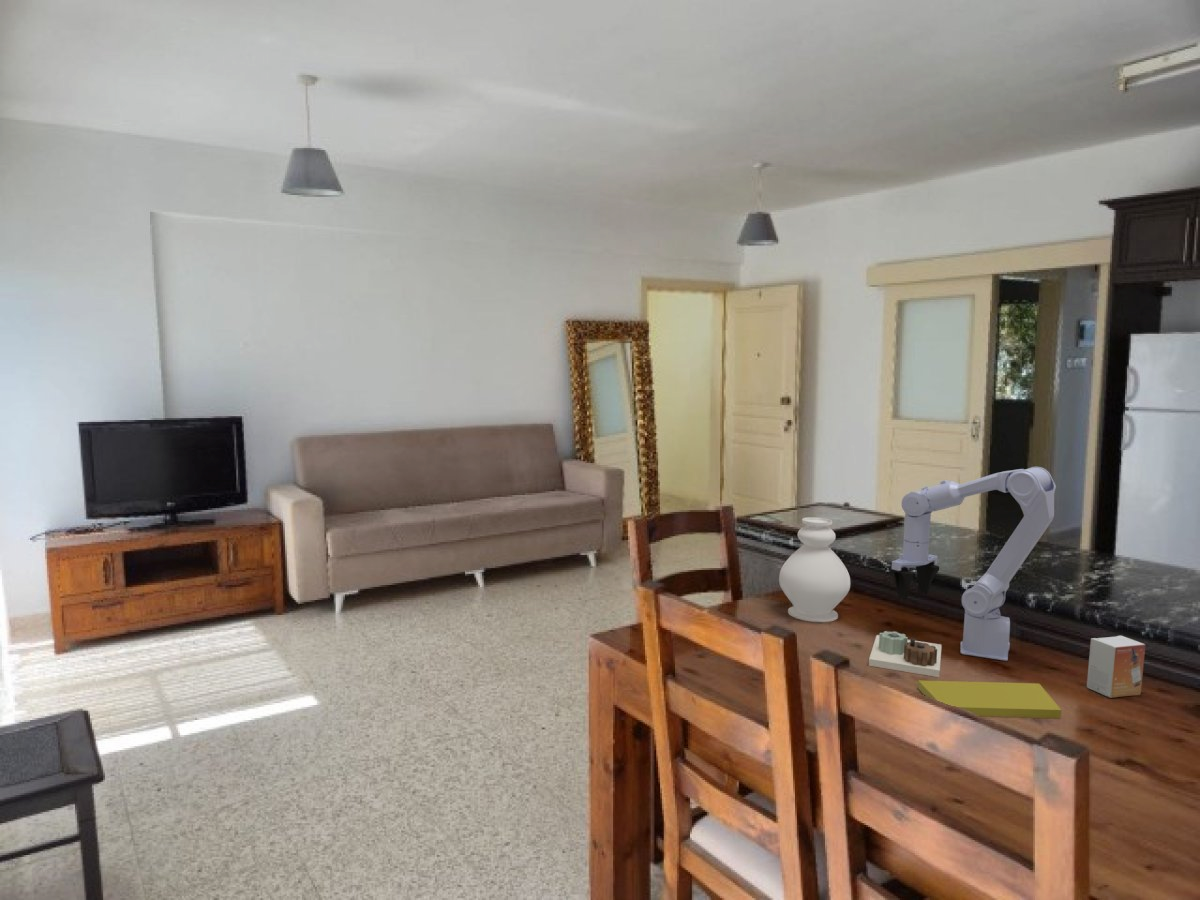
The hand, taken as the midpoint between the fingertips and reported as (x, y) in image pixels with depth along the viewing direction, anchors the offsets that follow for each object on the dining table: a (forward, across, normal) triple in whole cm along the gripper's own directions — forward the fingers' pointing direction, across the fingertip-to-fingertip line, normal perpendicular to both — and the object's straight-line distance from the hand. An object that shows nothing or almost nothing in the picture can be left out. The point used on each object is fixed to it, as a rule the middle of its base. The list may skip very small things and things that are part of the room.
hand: (913, 595), depth 188 cm
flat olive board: (+10, +20, +34) cm, 40 cm away
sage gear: (+8, +17, +8) cm, 20 cm away
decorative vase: (+10, +10, -22) cm, 26 cm away
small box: (+10, -7, +42) cm, 44 cm away
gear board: (+9, +15, +10) cm, 20 cm away
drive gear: (+8, +17, +15) cm, 24 cm away
